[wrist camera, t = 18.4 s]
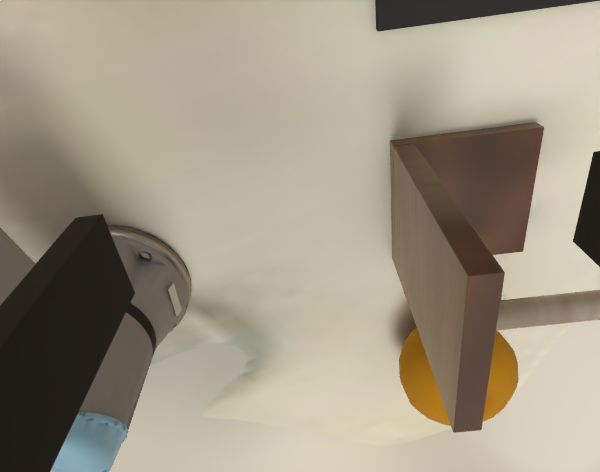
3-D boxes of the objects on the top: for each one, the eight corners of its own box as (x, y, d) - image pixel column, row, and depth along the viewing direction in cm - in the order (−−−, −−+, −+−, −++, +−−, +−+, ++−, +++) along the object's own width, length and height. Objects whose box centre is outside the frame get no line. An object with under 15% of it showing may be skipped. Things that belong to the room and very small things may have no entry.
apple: (369, 329, 56) (386, 405, 46) (456, 272, 51) (495, 343, 41) (427, 378, 61) (453, 457, 51) (511, 330, 56) (557, 407, 46)
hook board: (392, 258, 50) (453, 433, 31) (390, 140, 43) (468, 276, 24) (526, 243, 49) (671, 413, 30) (547, 120, 42) (755, 244, 23)
